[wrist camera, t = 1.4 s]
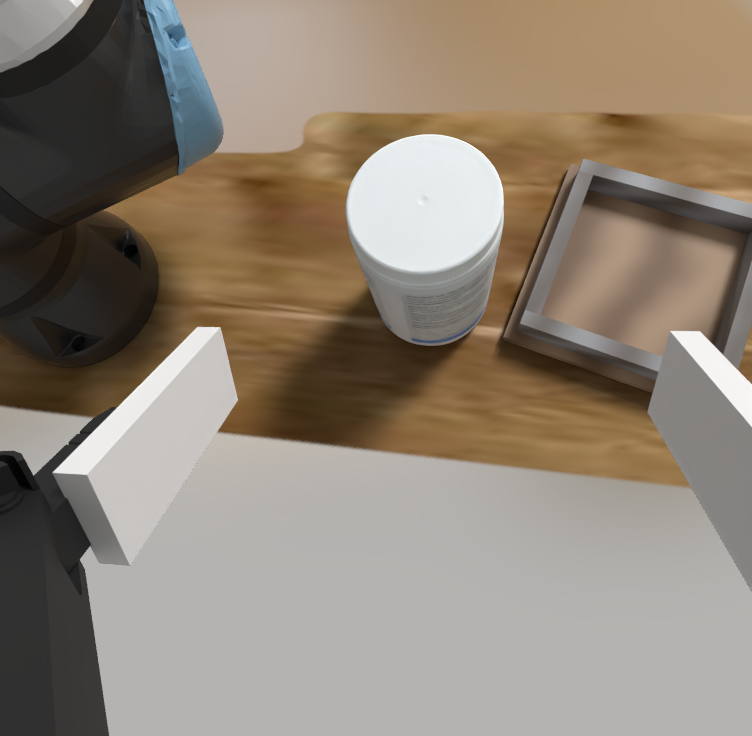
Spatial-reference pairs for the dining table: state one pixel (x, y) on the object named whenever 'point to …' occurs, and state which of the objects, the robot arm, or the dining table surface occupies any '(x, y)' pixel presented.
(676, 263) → the dock
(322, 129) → the dining table surface
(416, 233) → the supplement tub
